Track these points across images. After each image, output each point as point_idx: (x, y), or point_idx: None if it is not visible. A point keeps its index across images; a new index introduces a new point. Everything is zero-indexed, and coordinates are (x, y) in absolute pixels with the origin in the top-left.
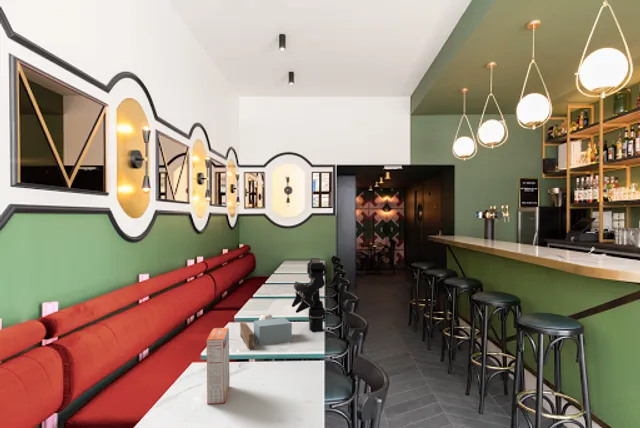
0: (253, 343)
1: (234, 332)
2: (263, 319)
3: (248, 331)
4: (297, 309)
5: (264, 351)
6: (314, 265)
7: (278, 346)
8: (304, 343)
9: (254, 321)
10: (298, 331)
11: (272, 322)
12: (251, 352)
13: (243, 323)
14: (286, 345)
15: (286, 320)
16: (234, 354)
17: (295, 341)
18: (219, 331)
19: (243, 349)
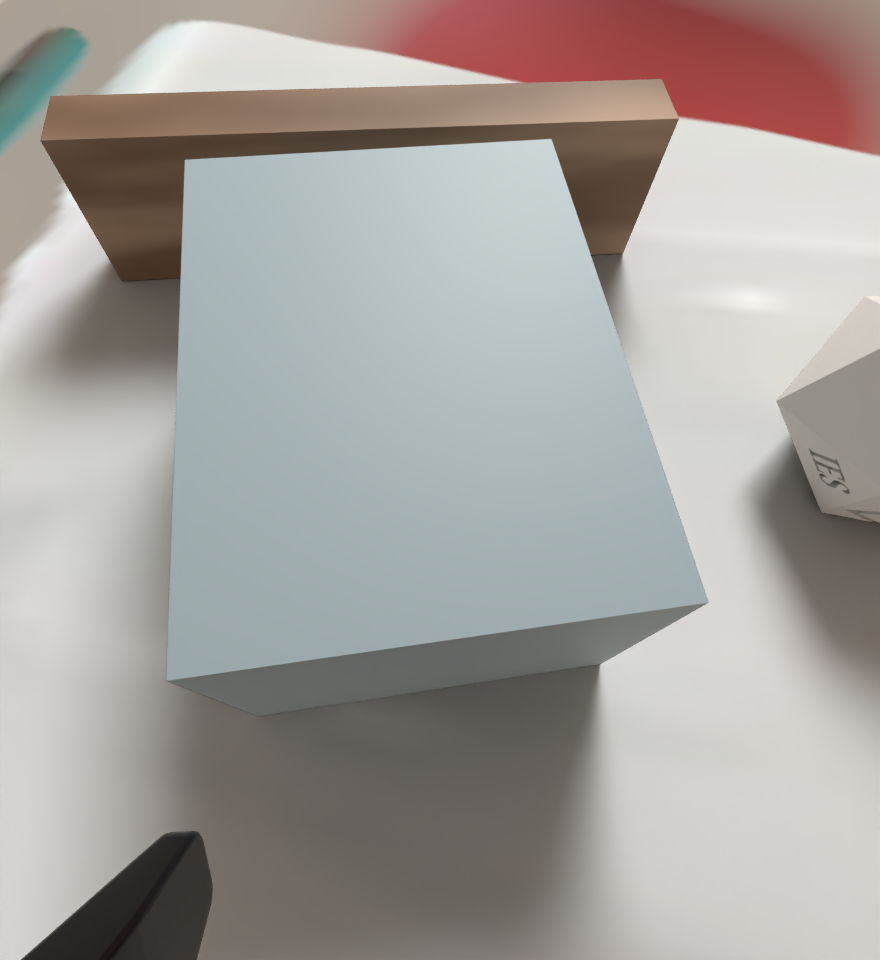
0: (95, 228)
1: (746, 187)
2: (877, 333)
3: (194, 106)
4: (49, 940)
5: (8, 355)
6: None
7: (104, 510)
8: (56, 907)
9: (515, 144)
10: (769, 938)
11: (358, 338)
12: (46, 255)
13: (599, 99)
14: (95, 610)
15: (442, 604)
16: None
17: (220, 771)
18: None
19: None
